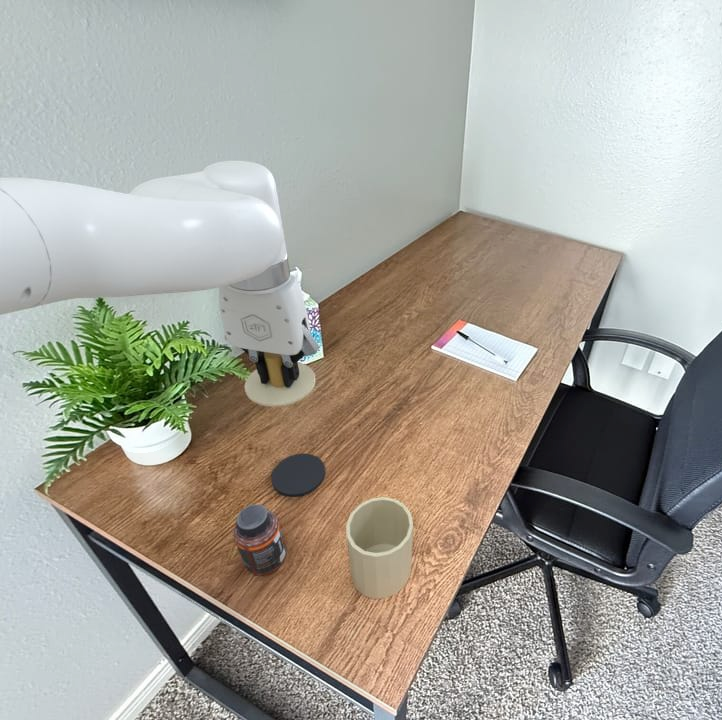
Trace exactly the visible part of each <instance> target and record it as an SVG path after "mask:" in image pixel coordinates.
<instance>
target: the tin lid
mask: <svg viewBox="0 0 722 720" xmlns="http://www.w3.org/2000/svg"><path fill="white" fill-rule="evenodd" d="M264 357H265V361H266V366H267V370H268V374H269V379H270V380H269V382H268V383H266V384H262V383H261V380H260V376H259V375H258V372H257V368H256V369H254V370H253V371H252V372H251V373H250V374H249V375H248V377H247V378H246V380H245V383H244V391H245V394H246V396H247V398H248V399H249V400H250V401H252V402H253V403H255V404H257V405H259V406H264V407H270V408H271V407H272V408H275V407H277V408H278V407H285V406H289V405H291V404H292V405H293V404H295V403H297V402H299V401H301V400H303V399H305V398H306V397H307V396H308V395H310V393H311V392H312V391H313V389H314V388H315V385H316V375H315V372H314V370H313V369H312V368H311V367H310V366H308V365H307V364H304V363H302V362H301V361H297V362H298V367H299V377H298V379H297V380H295V381H294V382H293V384H292V385H291V387H290V388H287V387H285V386H284V381H283V376H282V372H281V366H282V365H283V364H284V363H283V359H282V356H281V354H275V353H269V352H264Z"/></svg>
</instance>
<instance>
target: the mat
mask: <svg viewBox="0 0 722 720" xmlns="http://www.w3.org/2000/svg"><path fill="white" fill-rule="evenodd" d="M325 476H326V467H325V464H324V462H323V461H322V460H321V458H320V457H318V456H316V455H315V454H312V453H304V452H303V453H296V454H292V455H289V456H287V457H285V458H284V459H282V460H281V461H279V462H278V463H277V465H275V466H274V468H273V470H272V472H271V477H270V478H271V485H272V487H273V489H274V490H275V491H276V492H277V493H278V494H279V495H282V496H284V497H288V498H298V497H299V498H300V497H303V496H307V495H309V494H310V493H312V492H314V491H315V490H317V489H318V488H319V487H320V486H321V484H322V483H323V481H324V480H325Z"/></svg>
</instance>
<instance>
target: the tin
mask: <svg viewBox="0 0 722 720" xmlns="http://www.w3.org/2000/svg"><path fill="white" fill-rule="evenodd" d="M345 534H346V535H345V536H346V537H345V538H346V544H347V545H346V546H347V552H348V561H349V568H350V569H349V570H350V577H351V581H352V584H353V586H354V588H355V590H357V592H359V594H361V595H363V596H364V597H366V598H369V599H373V600H383V599H387V598H391V597H393V596H395V595H396V594H398V593H399V592H400V591H402V590H403V589H404V587H405V586H406V585H407V583H408V581H409V579H410V576H411V571H412V566H413V565H412V564H413V563H412V562H413V539H414V538H413V537H414V524H413V515H412V513H411V512H410V510H409V508H408V507H407V506H406V504H404V503H402V502H400V501H399V500H397V498H391V497H386V496H380V497H371V498H369V499H368V500H365V501H364V502H362V503H359V504H358V505H357V507H355V508H354V509H353V511H351V512H350V515H349V517H348V519H347V521H346V524H345Z"/></svg>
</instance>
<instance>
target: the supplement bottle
mask: <svg viewBox="0 0 722 720" xmlns="http://www.w3.org/2000/svg"><path fill="white" fill-rule="evenodd" d="M232 531H233V532H232V536H233V541H234V543H235V545H236V548H237V550H238V552H239V555H240V557H241V560H242V563H243V564H244V567H245V568H246V570H247V572H248V573H250V574H251V575H254V576H259V577H261V576H262V577H263V576H266V575H267V576H268V575H270V574H272V573H274V572H275V571H277V570H278V569H279V568H281V566H282V565H283V563H284V562H285V560H286V557H287V547H286V543H285V540H284V536H283V533H282V529H281V526H280V523H279V519H278V517H277V515H276V514H275V513H273V511H271V510H269V509H267V508H266V507H265V506H264V505H262V504H256V503H255V504H250V505H248V506H246V507H244V508H242V509H241V510H240V511H239V513H238V514H237V516H236V523H235V524H234V526H233V530H232Z"/></svg>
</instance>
